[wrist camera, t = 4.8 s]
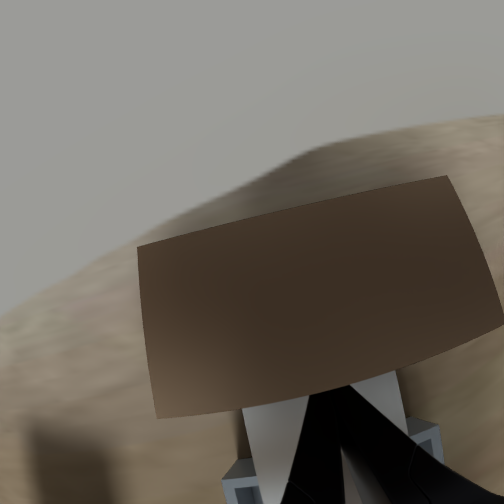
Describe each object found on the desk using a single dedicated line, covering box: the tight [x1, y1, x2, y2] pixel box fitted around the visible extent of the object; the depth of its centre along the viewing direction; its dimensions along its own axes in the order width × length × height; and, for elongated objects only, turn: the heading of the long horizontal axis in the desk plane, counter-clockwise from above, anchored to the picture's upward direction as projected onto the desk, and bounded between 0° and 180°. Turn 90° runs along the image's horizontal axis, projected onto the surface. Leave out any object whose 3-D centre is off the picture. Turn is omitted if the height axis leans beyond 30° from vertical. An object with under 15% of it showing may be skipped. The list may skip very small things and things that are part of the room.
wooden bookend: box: [137, 175, 504, 504], centre depth 9 cm, size 11×6×13 cm, turn 11°
